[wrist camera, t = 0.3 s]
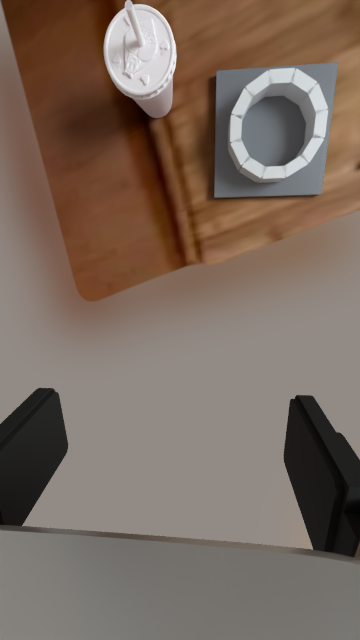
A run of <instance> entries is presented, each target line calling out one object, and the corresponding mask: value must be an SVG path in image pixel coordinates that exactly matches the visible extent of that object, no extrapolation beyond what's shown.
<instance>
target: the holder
mask: <svg viewBox="0 0 360 640" xmlns="http://www.w3.org/2000/svg"><path fill="white" fill-rule="evenodd" d="M337 69H338V62H336V63H322V64H308V65H293V66H279V67H265V68H250V69H236V70H222V71H217V73H216V122H215V179H214V198H240V197H273V196H307V195H321V194H322V186H323V178H324V171H325V163H326V155H327V147H328V139H329V132H330V124H331V116H332V108H333V100H334V93H335V85H336V77H337Z"/></svg>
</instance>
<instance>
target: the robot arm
mask: <svg viewBox="0 0 360 640" xmlns="http://www.w3.org/2000/svg"><path fill="white" fill-rule="evenodd" d="M67 449H68V442H67V436H66V430H65V425H64V420H63V414H62V409H61V404H60V398H59V394H58V393H57V392H55V390H54V389H52V388H38V389H37V390H36V391H34V392H33V394H31V395H30V396H29V397H28V398H27V399H26V400H25V401H24V402H23V403H22V404H21V405H20V406H19V407H18V408H17V409H16V410H15V411H13V412H12V414H11V415H9V416H8V417H7V418H6V419H5V420H4V421H3V422H2V423H1V424H0V640H360V460H359V458H358V457H357V455H356V454H355V452H354V451H353V450H352V448H351V446H350V445H349V443H348V442H347V440H346V439H345V437H344V436H343V435H342V434H341V433H337V432H336V431H335V430H334V428H333V427H332V425H331V424H330V422H329V420H328V419H327V417H326V416H325V414H324V413H323V411H322V409H321V408H320V406H319V405H318V403H317V402H316V400H315V399H314V397H313V396H306V395H297V396H296V397H295V399H291V400H290V407H289V416H288V423H287V431H286V440H285V449H284V463H285V466H286V469H287V472H288V475H289V478H290V481H291V484H292V487H293V490H294V493H295V496H296V499H297V502H298V505H299V508H300V511H301V513H302V517H303V520H304V523H305V525H306V529H307V532H308V535H309V538H310V540H311V543H312V546H313V549H314V550H311V549H302V548H293V547H282V546H273V545H262V544H252V543H241V542H228V541H215V540H204V539H191V538H179V537H166V536H153V535H139V534H126V533H113V532H99V531H85V530H72V529H56V528H42V527H28V526H22V525H23V523H24V521H25V520H26V518H27V517H28V515H29V513H30V512H31V510H32V508H33V507H34V505H35V504H36V502H37V500H38V499H39V497H40V495H41V494H42V492H43V491H44V489H45V487H46V485H47V484H48V482H49V481H50V479H51V477H52V476H53V474H54V473H55V471H56V469H57V468H58V466H59V465H60V463H61V461H62V460H63V458H64V456H65V455H66V453H67Z"/></svg>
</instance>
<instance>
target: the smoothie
mask: <svg viewBox="0 0 360 640" xmlns="http://www.w3.org/2000/svg"><path fill="white" fill-rule="evenodd" d="M176 57H177V56H176V45H175V41H174V38H173V34H172V31H171V28H170V26H169V24H168V22H167V21H166V19H165V18H164V17H163V15H162V14H161V13H160V12H158V11H157V10H156V9H154V8H152V7H150V6H147V5H143V4H136V5H133V4H132V2H131V1H130V0H127V1H126V2H125V8H124V9H123V10H121V11H120V12H119V13H118V14H117V15H116V16H115V17H114V18H113V20H112V21H111V23H110V25H109V27H108V29H107V32H106V35H105V40H104V58H105V63H106V67H107V70H108V72H109V74H110V76H111V79H112V81H113V82H114V84H115V85H116V87H117V88H118V89H119V90H120V91H121V92H122V93H123V94H125V95H127V96H129V97H131V98H133V99H134V101H135V102H136V103H137V104H138V105H139V106H140V107H141V108H142V109H143V110H144V111H145V112H146V113H147V114H148V115H149V116H151V117H153V118H161V117H163V116H165V115H166V114H167V113H168V112H169V110H170V108H171V106H172V91H173V73H174V70H175V65H176Z"/></svg>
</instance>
